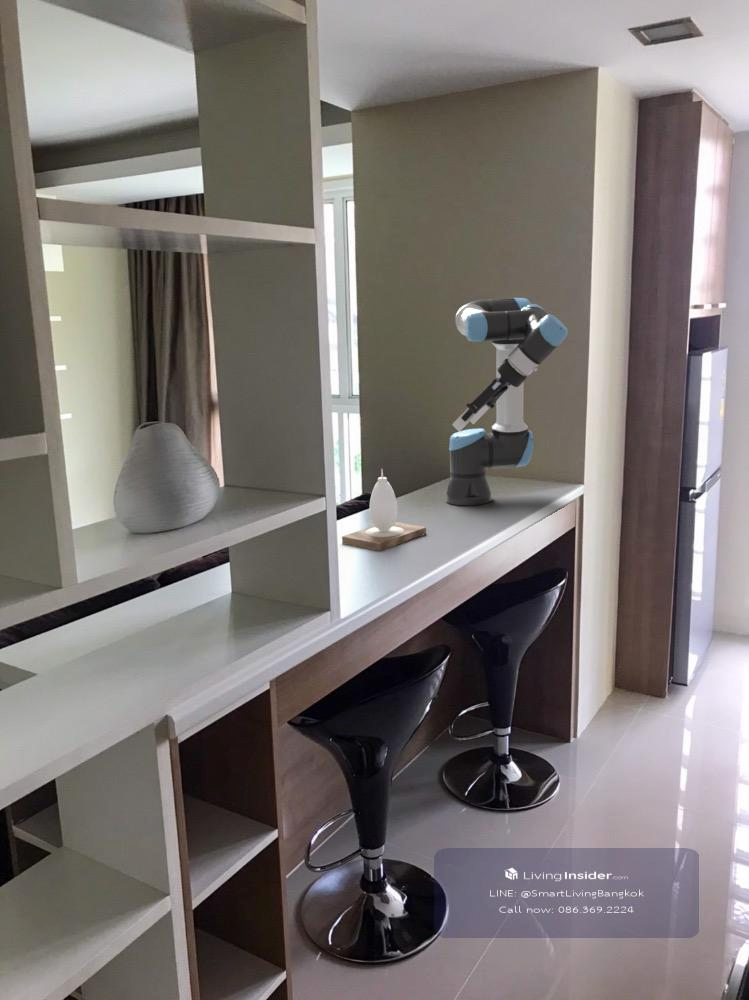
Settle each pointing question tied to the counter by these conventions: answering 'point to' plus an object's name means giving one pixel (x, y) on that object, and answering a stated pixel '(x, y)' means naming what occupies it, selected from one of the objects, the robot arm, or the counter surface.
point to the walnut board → (383, 536)
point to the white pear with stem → (383, 505)
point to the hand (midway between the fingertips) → (463, 424)
